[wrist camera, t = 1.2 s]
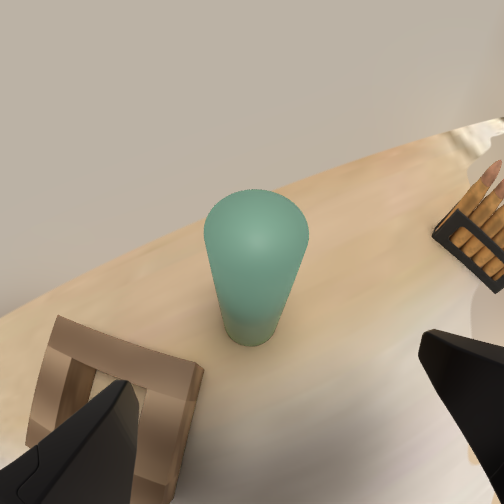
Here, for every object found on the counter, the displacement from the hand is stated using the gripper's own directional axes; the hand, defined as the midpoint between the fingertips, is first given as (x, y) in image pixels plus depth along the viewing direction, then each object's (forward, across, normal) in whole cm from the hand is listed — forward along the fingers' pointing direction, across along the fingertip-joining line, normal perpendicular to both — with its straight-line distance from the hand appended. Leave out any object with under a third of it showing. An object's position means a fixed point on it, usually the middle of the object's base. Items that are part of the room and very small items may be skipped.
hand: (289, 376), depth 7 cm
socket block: (+9, +11, +10) cm, 17 cm away
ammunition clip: (+15, -24, +4) cm, 29 cm away
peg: (+14, 0, +6) cm, 15 cm away
